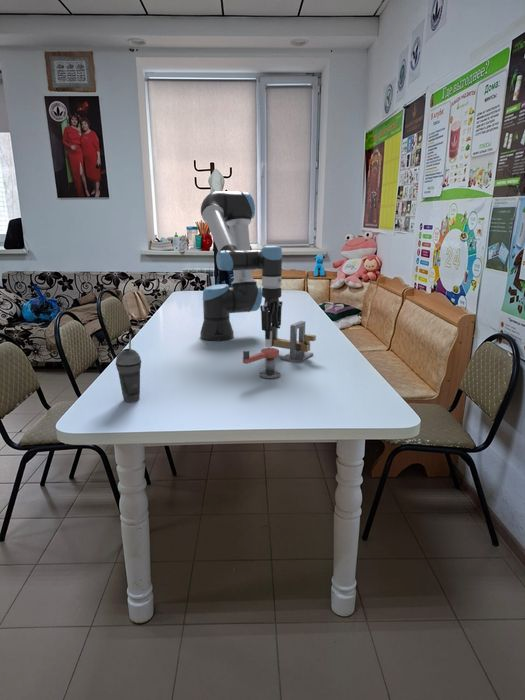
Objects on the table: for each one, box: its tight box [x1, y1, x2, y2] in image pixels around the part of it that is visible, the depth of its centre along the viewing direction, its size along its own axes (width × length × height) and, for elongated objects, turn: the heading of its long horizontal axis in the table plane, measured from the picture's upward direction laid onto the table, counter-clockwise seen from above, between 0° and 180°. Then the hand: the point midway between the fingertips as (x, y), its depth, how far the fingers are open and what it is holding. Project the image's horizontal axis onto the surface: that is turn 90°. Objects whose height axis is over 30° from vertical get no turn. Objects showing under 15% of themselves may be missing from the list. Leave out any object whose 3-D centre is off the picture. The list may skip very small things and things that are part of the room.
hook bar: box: [271, 324, 317, 352], centre depth 174 cm, size 21×4×8 cm, turn 58°
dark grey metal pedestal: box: [259, 358, 281, 380], centre depth 153 cm, size 7×7×7 cm
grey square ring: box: [280, 320, 314, 364], centre depth 172 cm, size 8×12×14 cm, turn 148°
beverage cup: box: [115, 334, 142, 403], centre depth 130 cm, size 7×7×20 cm
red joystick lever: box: [242, 347, 280, 365], centre depth 148 cm, size 15×6×4 cm, turn 137°
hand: (271, 345), depth 179 cm, fingers closed on hook bar, 4 cm apart
